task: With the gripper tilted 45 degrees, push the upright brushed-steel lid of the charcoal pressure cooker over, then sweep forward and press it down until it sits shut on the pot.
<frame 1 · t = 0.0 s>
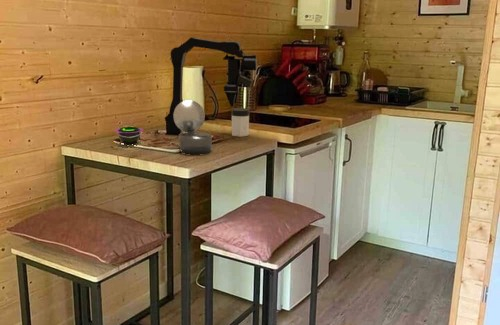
hand: (233, 104, 228), 15 cm above the table, tool pointing down, fingers open, 9 cm apart
toy cauldron: (130, 146, 211), on the table
cooker pot: (195, 151, 205), on the table
jar: (240, 135, 235), on the table
cooker lid: (188, 116, 209), point 13 cm above the table, hinge at 100.0°
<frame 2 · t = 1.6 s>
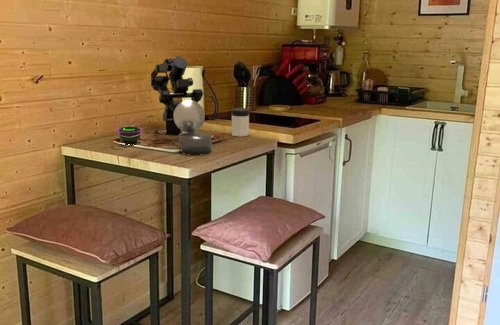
hand: (185, 112, 215), 13 cm above the table, tool tilted 45°, fingers open, 9 cm apart
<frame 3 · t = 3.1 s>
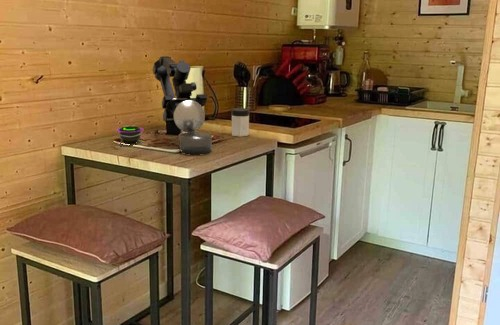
hand: (188, 117, 209), 12 cm above the table, tool tilted 45°
cooker lid: (188, 116, 209), point 13 cm above the table, hinge at 98.4°, touching gripper
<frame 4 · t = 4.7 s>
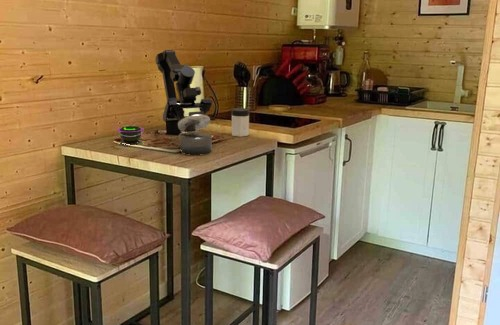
hand: (193, 122, 204), 11 cm above the table, tool tilted 45°
cooker lid: (193, 121, 203), point 12 cm above the table, hinge at 38.1°, touching gripper
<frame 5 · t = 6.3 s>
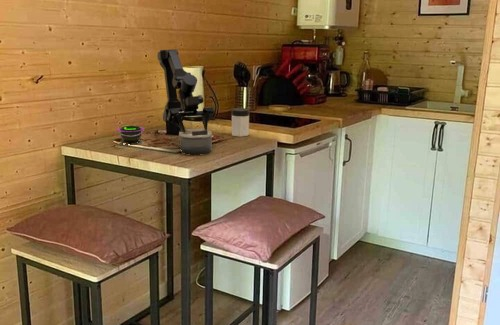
hand: (195, 131, 202), 8 cm above the table, tool tilted 45°
cooker lid: (195, 131, 202), point 8 cm above the table, hinge at -0.1°, touching gripper
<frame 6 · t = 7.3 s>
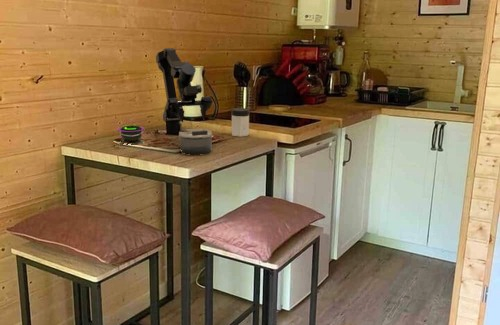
hand: (193, 120, 203), 12 cm above the table, tool tilted 45°, fingers open, 9 cm apart
cooker lid: (195, 131, 202), point 8 cm above the table, hinge at -0.1°
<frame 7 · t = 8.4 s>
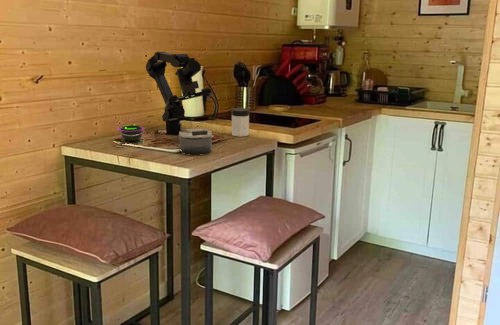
hand: (194, 115, 216), 12 cm above the table, tool tilted 25°, fingers open, 9 cm apart
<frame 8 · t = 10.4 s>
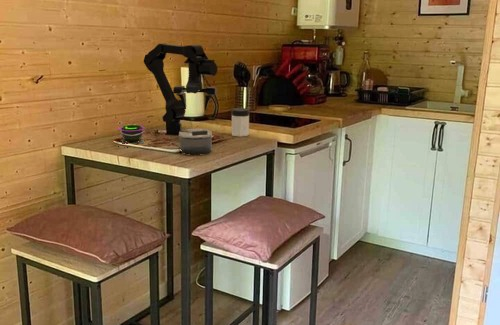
hand: (195, 109, 224), 13 cm above the table, tool pointing down, fingers open, 9 cm apart
at the end: cooker lid at +0° (first picture: +100°); jar moved 0.2 cm from its start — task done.
